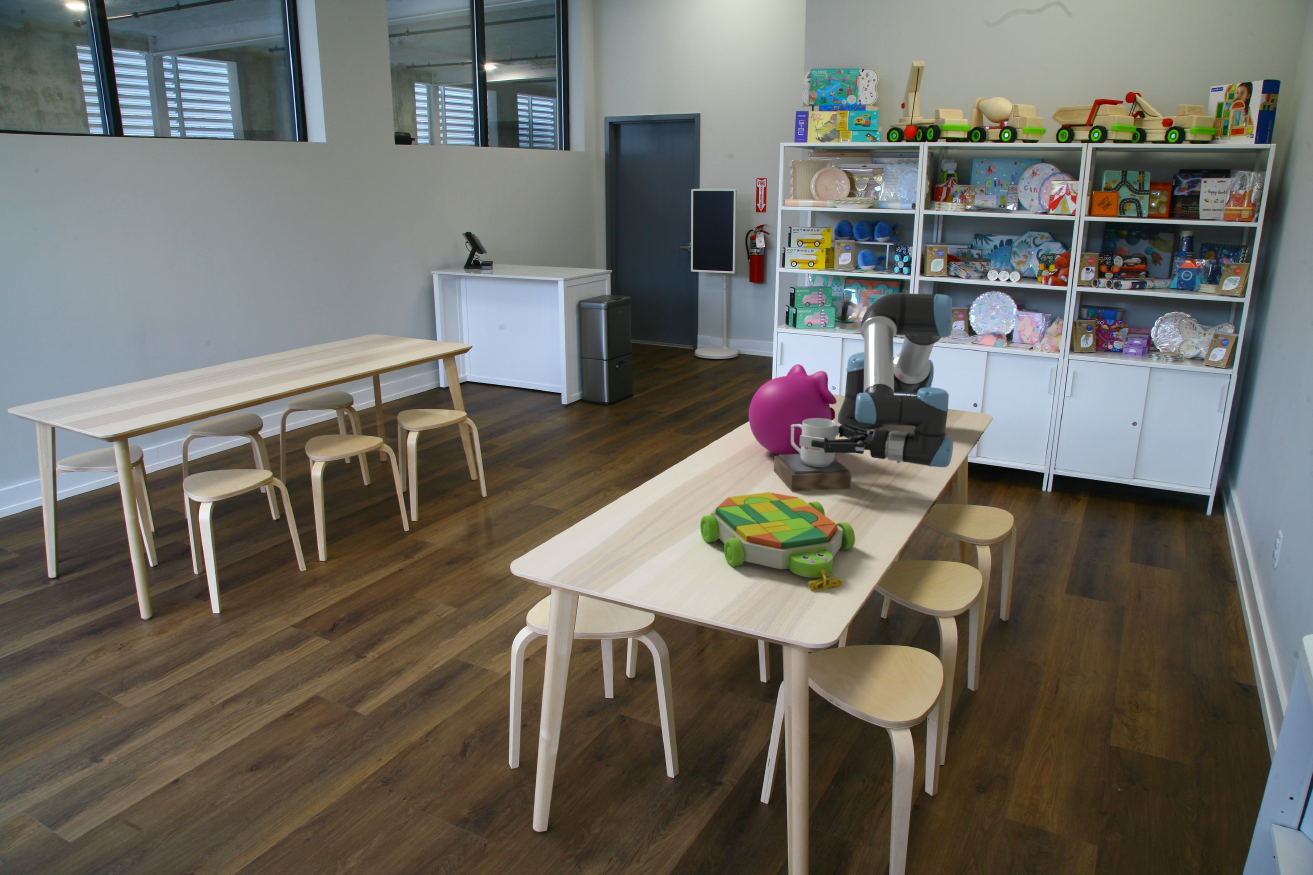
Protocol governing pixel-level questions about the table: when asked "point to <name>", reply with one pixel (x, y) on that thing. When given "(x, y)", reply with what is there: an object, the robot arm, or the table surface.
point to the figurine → (789, 408)
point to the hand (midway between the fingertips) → (807, 433)
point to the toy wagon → (779, 535)
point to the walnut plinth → (810, 474)
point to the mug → (820, 430)
